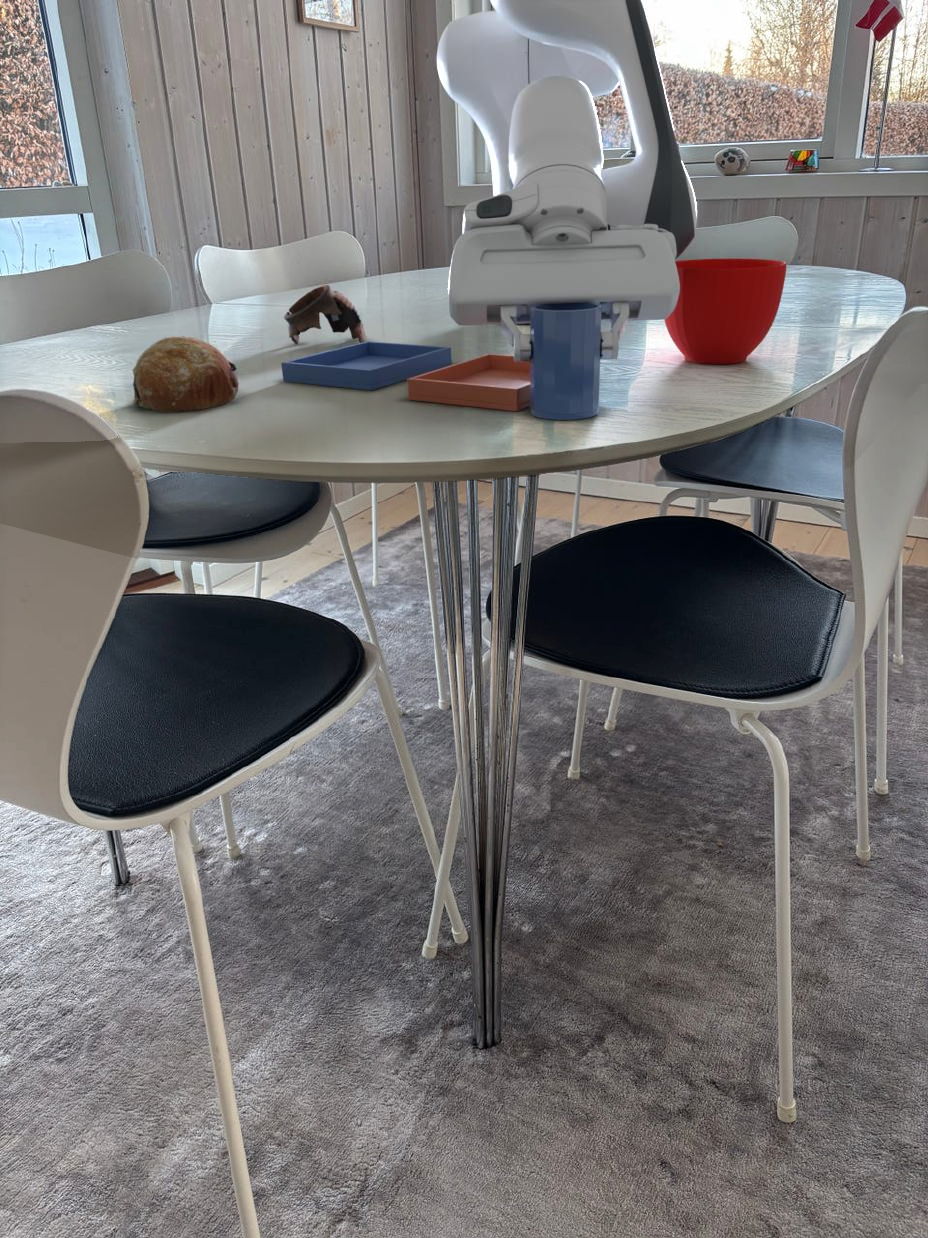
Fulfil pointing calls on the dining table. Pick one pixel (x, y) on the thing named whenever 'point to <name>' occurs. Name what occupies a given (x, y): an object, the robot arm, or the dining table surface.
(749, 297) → the ceramic cup
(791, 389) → the dining table surface
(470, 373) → the terracotta tray
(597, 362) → the blue tumbler
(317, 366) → the blue tray
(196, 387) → the bread roll
